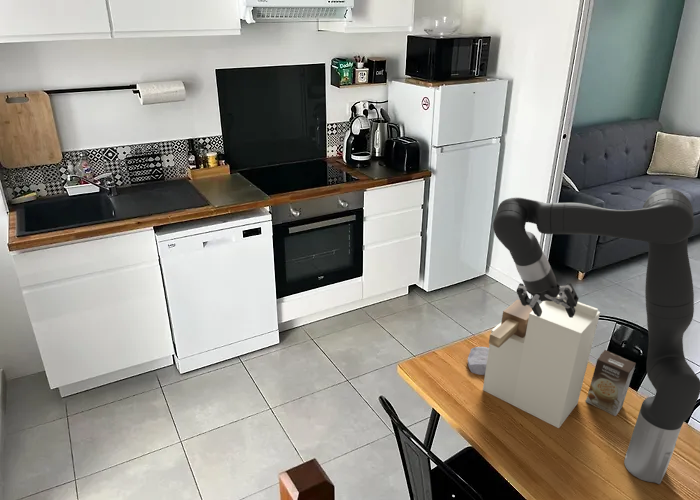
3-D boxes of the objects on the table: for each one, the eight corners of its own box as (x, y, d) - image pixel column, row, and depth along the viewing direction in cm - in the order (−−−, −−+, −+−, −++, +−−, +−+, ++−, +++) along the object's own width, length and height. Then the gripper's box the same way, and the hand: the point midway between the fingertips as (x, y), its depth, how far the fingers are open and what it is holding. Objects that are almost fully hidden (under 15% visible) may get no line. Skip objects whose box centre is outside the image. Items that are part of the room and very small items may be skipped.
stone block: (468, 378, 174) (500, 377, 171) (466, 365, 173) (498, 365, 170) (469, 357, 185) (499, 356, 182) (467, 345, 183) (498, 344, 180)
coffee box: (584, 402, 162) (595, 358, 155) (592, 391, 166) (603, 348, 159) (616, 417, 156) (629, 372, 149) (623, 406, 160) (636, 362, 153)
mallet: (536, 325, 159) (539, 307, 157) (504, 355, 146) (507, 336, 143) (514, 316, 163) (517, 299, 161) (481, 345, 150) (484, 326, 147)
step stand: (577, 403, 161) (602, 304, 146) (558, 428, 152) (583, 325, 137) (504, 368, 175) (519, 275, 161) (482, 390, 166) (497, 293, 151)
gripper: (567, 258, 130) (587, 304, 138) (512, 260, 140) (533, 303, 148) (558, 280, 126) (579, 326, 133) (503, 280, 136) (525, 324, 143)
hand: (555, 314), depth 140 cm, fingers open, 8 cm apart
